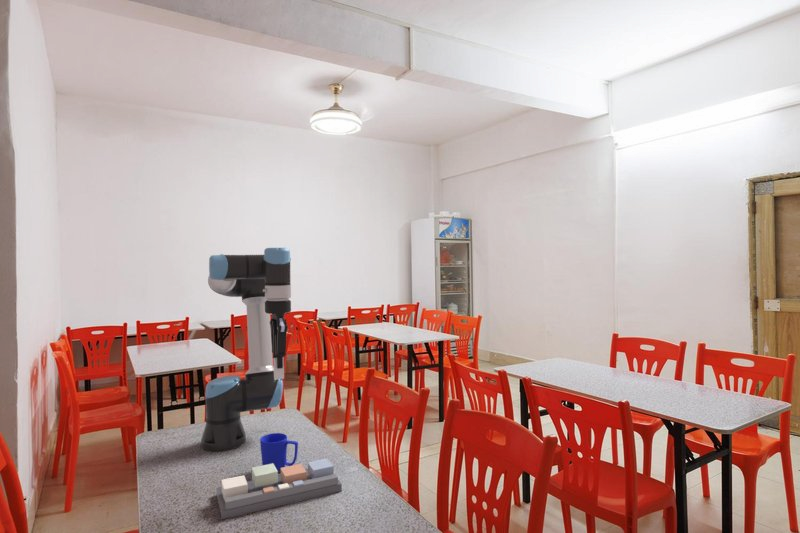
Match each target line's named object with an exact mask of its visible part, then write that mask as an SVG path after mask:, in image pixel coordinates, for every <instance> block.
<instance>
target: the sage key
mask: <svg viewBox="0 0 800 533" xmlns="http://www.w3.org/2000/svg"><path fill="white" fill-rule="evenodd" d="M278 475H279V472H278V471H277V469H276V467H275V465H274V464H273V463H272V464H267V465H262V464H261V465H257V466H253V467H251V479H252V480H253V482H254V485H255V487H259V486H264V485H268V484H273V483H278ZM252 480H251V481H252Z"/></svg>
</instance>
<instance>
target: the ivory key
mask: <svg viewBox="0 0 800 533" xmlns="http://www.w3.org/2000/svg"><path fill="white" fill-rule="evenodd" d="M247 481H248V480H247V479H246V476H245V475H239V476H234V477H229V478H224V479H221V487H222V494H223V498H224V501H225V498H228V497H232V496H237V495H241V494H246V493H248V484H247Z"/></svg>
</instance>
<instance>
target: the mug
mask: <svg viewBox="0 0 800 533" xmlns="http://www.w3.org/2000/svg"><path fill="white" fill-rule="evenodd" d="M259 442H260V453H261V466H262V465H267V464H272V463H273V464H274V465H275V467H276V469H277V471H278V473H280V472H281V470H280V468H283V467H287V466H292V465H295V463H296V461H297V458H298V451H299V442H298V441H295V440H288V436H287V434H285V433H281V432H273V433H269V434H265V435H263V436H261V437H260V440H259ZM290 444H291V445H294V456H293V460H292V462H288V461H287V453H288V452H287V449H288V445H290Z"/></svg>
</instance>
